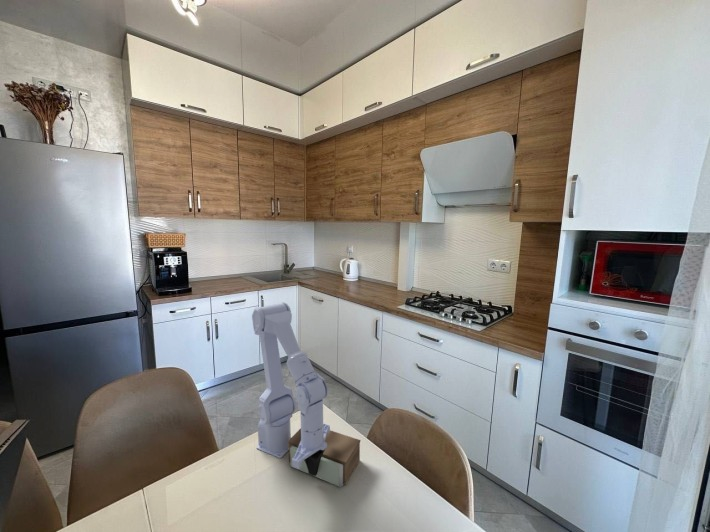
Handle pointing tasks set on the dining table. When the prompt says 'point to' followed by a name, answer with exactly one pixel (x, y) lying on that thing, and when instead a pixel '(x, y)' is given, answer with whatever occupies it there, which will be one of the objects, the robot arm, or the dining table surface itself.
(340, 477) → the door
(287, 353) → the robot arm
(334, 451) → the cabinet
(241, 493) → the dining table surface
